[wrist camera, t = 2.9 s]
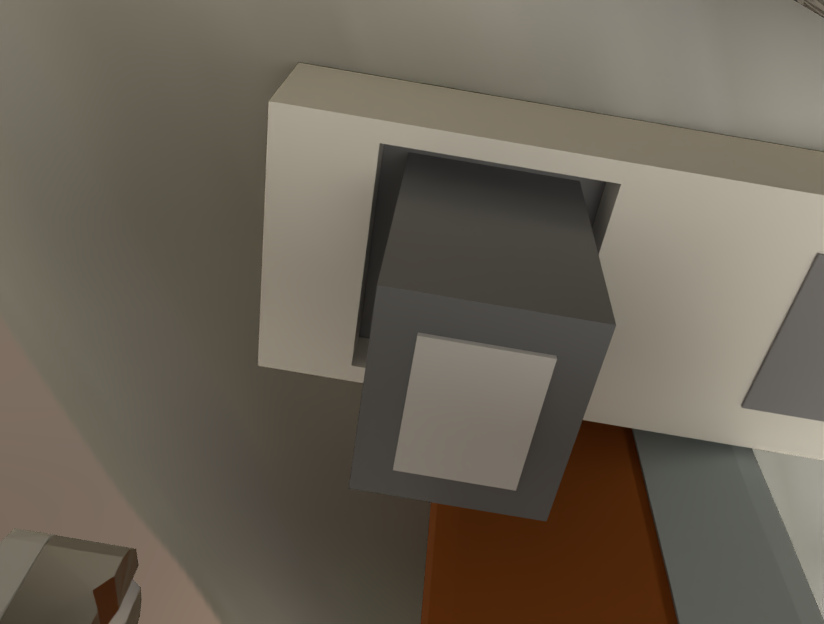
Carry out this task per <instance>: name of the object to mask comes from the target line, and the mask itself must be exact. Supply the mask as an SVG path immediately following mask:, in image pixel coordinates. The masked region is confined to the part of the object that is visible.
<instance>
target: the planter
mask: <svg viewBox="0 0 824 624" xmlns="http://www.w3.org/2000/svg"><path fill="white" fill-rule="evenodd" d="M795 1H796V2H798V3H800V4H802V5H803V6H805V7H807V8H808V9H810V10H812V11H813V12H815V13H817V14H819V15H820V16H822V17H824V0H795Z"/></svg>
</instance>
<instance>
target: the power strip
mask: <svg viewBox="0 0 824 624" xmlns="http://www.w3.org/2000/svg"><path fill="white" fill-rule="evenodd" d="M409 152H412V153H418V154H423V155H429V156H435V157H441V158H447V159H453V160H459V161H465V162H471V163H476V164H482V165H488V166H494V167H500V168H506V169H512V170H518V171H524V172H529V173H535V174H541V175H547V176H553V177H559V178H565V179H571V180H577V181H580V184H581V188H582V192H583V196H584V200H585V204H586V207H587V211H588V215H589V219H590V223H591V227H592V231H593V235H594V239H595V243H596V247H597V251H598V255H599V259H600V263H601V267H602V271H603V275H604V279H605V283H606V287H607V291H608V294H609V298H610V302H611V306H612V310H613V314H614V318H615V322H616V327H615V330H614V333H613V336H612V339H611V342H610V344H609V347H608V350H607V353H606V356H605V358H604V361H603V364H602V367H601V370H600V372H599V375H598V378H597V381H596V384H595V387H594V389H593V392H592V395H591V398H590V401H589V403H588V406H587V409H586V412H585V415H584V418H583V420H586V421H592V422H598V423H604V424H610V425H616V426H622V427H628V428H634V429H640V430H646V431H652V432H657V433H663V434H669V435H675V436H681V437H687V438H693V439H699V440H705V441H711V442H717V443H723V444H729V445H735V446H741V447H747V448H753V449H759V450H765V451H771V452H777V453H783V454H789V455H795V456H801V457H807V458H813V459H819V460H824V152H820V151H814V150H808V149H803V148H797V147H791V146H785V145H779V144H773V143H767V142H761V141H756V140H750V139H744V138H738V137H732V136H726V135H720V134H715V133H709V132H703V131H697V130H691V129H685V128H679V127H674V126H668V125H662V124H656V123H650V122H644V121H638V120H632V119H627V118H621V117H615V116H609V115H603V114H597V113H591V112H586V111H580V110H574V109H568V108H562V107H556V106H550V105H545V104H539V103H533V102H527V101H521V100H515V99H509V98H503V97H498V96H492V95H486V94H480V93H474V92H468V91H462V90H457V89H451V88H445V87H439V86H433V85H427V84H421V83H416V82H410V81H404V80H398V79H392V78H386V77H380V76H374V75H369V74H363V73H357V72H351V71H345V70H339V69H333V68H328V67H322V66H316V65H310V64H304V63H298V64H297V66H296V67H295V68H294V69H293V71H292V72H291V73H290V75H289V76H288V77H287V78H286V80H285V81H284V82H283V83H282V85H281V86H280V87H279V89H278V90H277V91H276V92H275V94H274V95H273V96H272V97H271V99H270V100H269V107H268V131H267V155H266V180H265V204H264V228H263V253H262V277H261V302H260V326H259V350H258V366H263V367H269V368H275V369H281V370H287V371H293V372H299V373H305V374H311V375H317V376H323V377H329V378H335V379H341V380H347V381H353V382H359V383H363V382H364V375H365V368H366V360H367V353H368V346H369V339H370V332H371V325H372V317H373V310H374V303H375V296H376V289H377V283H378V279H379V275H380V271H381V266H382V262H383V258H384V254H385V250H386V246H387V241H388V237H389V233H390V229H391V225H392V221H393V216H394V212H395V208H396V204H397V200H398V196H399V192H400V187H401V183H402V179H403V175H404V171H405V167H406V162H407V158H408V154H409Z"/></svg>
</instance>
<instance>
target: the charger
mask: <svg viewBox="0 0 824 624" xmlns="http://www.w3.org/2000/svg"><path fill="white" fill-rule="evenodd" d="M615 327H616V322H615V318H614V314H613V310H612V306H611V302H610V298H609V294H608V291H607V287H606V283H605V279H604V275H603V271H602V267H601V263H600V259H599V255H598V251H597V247H596V243H595V239H594V235H593V231H592V227H591V223H590V219H589V215H588V211H587V207H586V204H585V200H584V196H583V192H582V188H581V184H580V181H577V180H571V179H565V178H559V177H553V176H547V175H541V174H535V173H529V172H524V171H518V170H512V169H506V168H500V167H494V166H488V165H482V164H476V163H471V162H465V161H459V160H453V159H447V158H441V157H435V156H429V155H423V154H418V153H412V152H409V154H408V158H407V162H406V167H405V171H404V175H403V179H402V183H401V187H400V192H399V196H398V200H397V204H396V208H395V212H394V216H393V221H392V225H391V229H390V233H389V237H388V241H387V246H386V250H385V254H384V258H383V262H382V266H381V271H380V275H379V279H378V283H377V289H376V296H375V303H374V310H373V317H372V325H371V332H370V339H369V346H368V353H367V360H366V368H365V375H364V382H363V389H362V396H361V403H360V411H359V418H358V425H357V432H356V439H355V446H354V454H353V461H352V468H351V475H350V482H349V489H354V490H360V491H366V492H372V493H378V494H384V495H390V496H396V497H402V498H408V499H414V500H420V501H426V502H432V503H438V504H444V505H450V506H456V507H462V508H468V509H474V510H480V511H486V512H492V513H498V514H504V515H510V516H516V517H522V518H528V519H534V520H540V521H546V522H547V519H548V516H549V513H550V510H551V508H552V505H553V502H554V499H555V496H556V493H557V491H558V488H559V485H560V482H561V479H562V477H563V474H564V471H565V468H566V465H567V463H568V460H569V457H570V454H571V451H572V448H573V446H574V443H575V440H576V437H577V434H578V432H579V429H580V426H581V423H582V420H583V418H584V415H585V412H586V409H587V406H588V403H589V401H590V398H591V395H592V392H593V389H594V387H595V384H596V381H597V378H598V375H599V372H600V370H601V367H602V364H603V361H604V358H605V356H606V353H607V350H608V347H609V344H610V342H611V339H612V336H613V333H614V330H615Z"/></svg>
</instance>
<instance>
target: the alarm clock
mask: <svg viewBox="0 0 824 624" xmlns="http://www.w3.org/2000/svg"><path fill="white" fill-rule="evenodd" d="M421 624H824V620H823V617H822V615H821V613H820V610H819V608H818V605H817V603H816V601H815V598H814V596H813V594H812V591H811V589H810V586H809V584H808V582H807V579H806V577H805V574H804V572H803V569H802V567H801V564H800V562H799V560H798V557H797V555H796V552H795V550H794V547H793V545H792V542H791V540H790V537H789V535H788V533H787V530H786V528H785V525H784V523H783V521H782V518H781V516H780V514H779V511H778V509H777V507H776V504H775V502H774V500H773V497H772V495H771V493H770V490H769V488H768V486H767V483H766V481H765V479H764V476H763V474H762V472H761V469H760V467H759V465H758V462H757V460H756V458H755V455H754V453H753V451H752V448H747V447H741V446H735V445H729V444H723V443H717V442H711V441H705V440H699V439H693V438H687V437H681V436H675V435H669V434H663V433H657V432H652V431H646V430H640V429H634V428H628V427H622V426H616V425H610V424H604V423H598V422H592V421H586V420H582V423H581V426H580V429H579V432H578V434H577V437H576V440H575V443H574V446H573V448H572V451H571V454H570V457H569V460H568V463H567V465H566V468H565V471H564V474H563V477H562V479H561V482H560V485H559V488H558V491H557V493H556V496H555V499H554V502H553V505H552V508H551V510H550V513H549V516H548V519H547V522H546V521H540V520H534V519H528V518H522V517H516V516H510V515H504V514H498V513H492V512H486V511H480V510H474V509H468V508H462V507H456V506H450V505H444V504H438V503H432V502H431V508H430V520H429V531H428V543H427V555H426V567H425V579H424V590H423V602H422V615H421Z"/></svg>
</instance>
